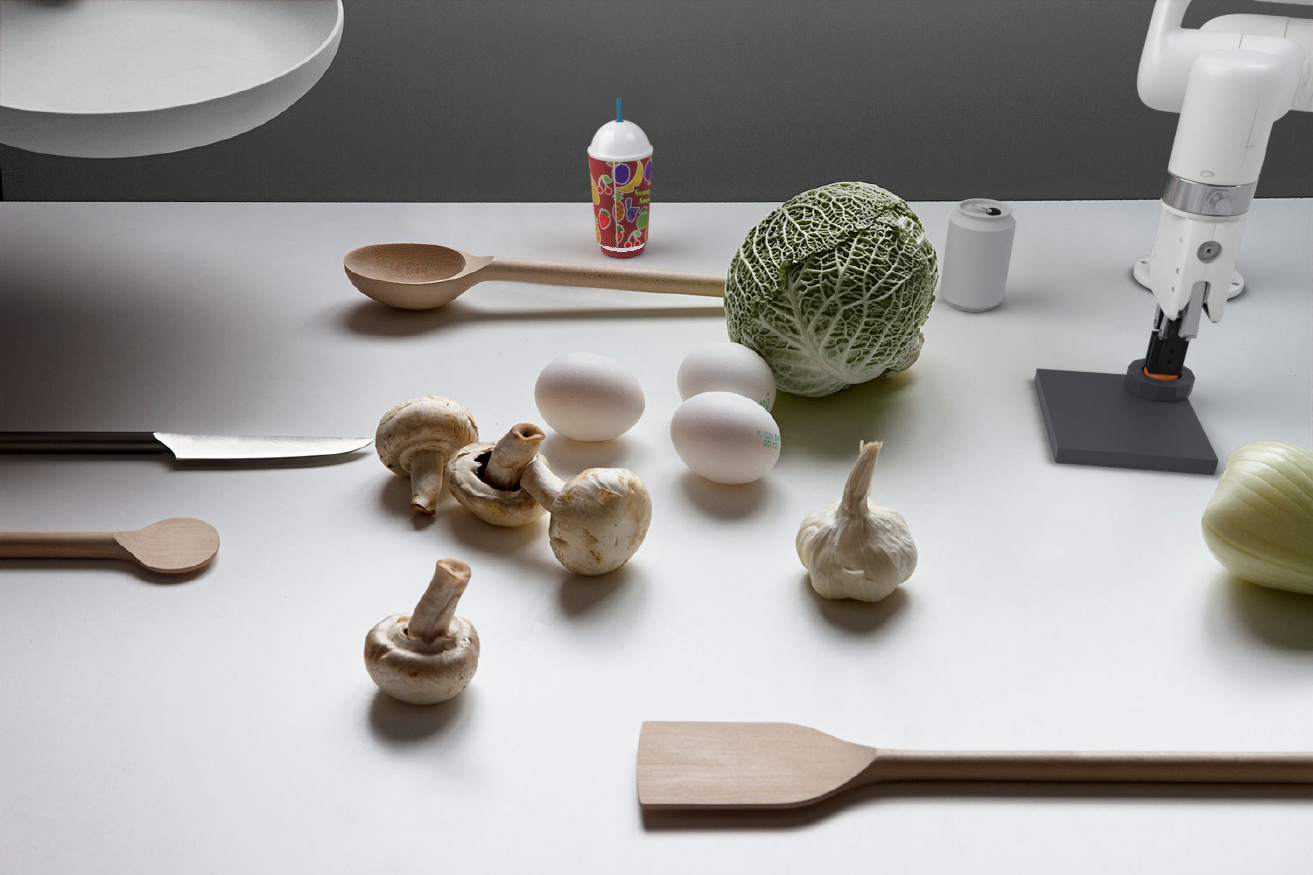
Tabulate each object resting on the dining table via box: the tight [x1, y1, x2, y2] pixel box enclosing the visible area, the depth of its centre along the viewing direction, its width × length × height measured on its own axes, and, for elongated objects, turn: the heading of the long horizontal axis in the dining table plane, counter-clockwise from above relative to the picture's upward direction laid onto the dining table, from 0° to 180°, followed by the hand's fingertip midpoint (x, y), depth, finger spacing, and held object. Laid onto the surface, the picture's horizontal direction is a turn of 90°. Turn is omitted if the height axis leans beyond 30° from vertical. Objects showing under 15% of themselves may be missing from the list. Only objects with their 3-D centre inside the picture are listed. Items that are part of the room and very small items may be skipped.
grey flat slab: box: [1033, 357, 1219, 476], centre depth 110 cm, size 17×14×4 cm
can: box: [939, 198, 1017, 313], centre depth 133 cm, size 8×8×12 cm
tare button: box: [1144, 367, 1179, 381], centre depth 113 cm, size 3×3×2 cm
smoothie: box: [586, 97, 654, 259], centre depth 146 cm, size 8×8×20 cm
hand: (1161, 370), depth 113 cm, fingers closed
